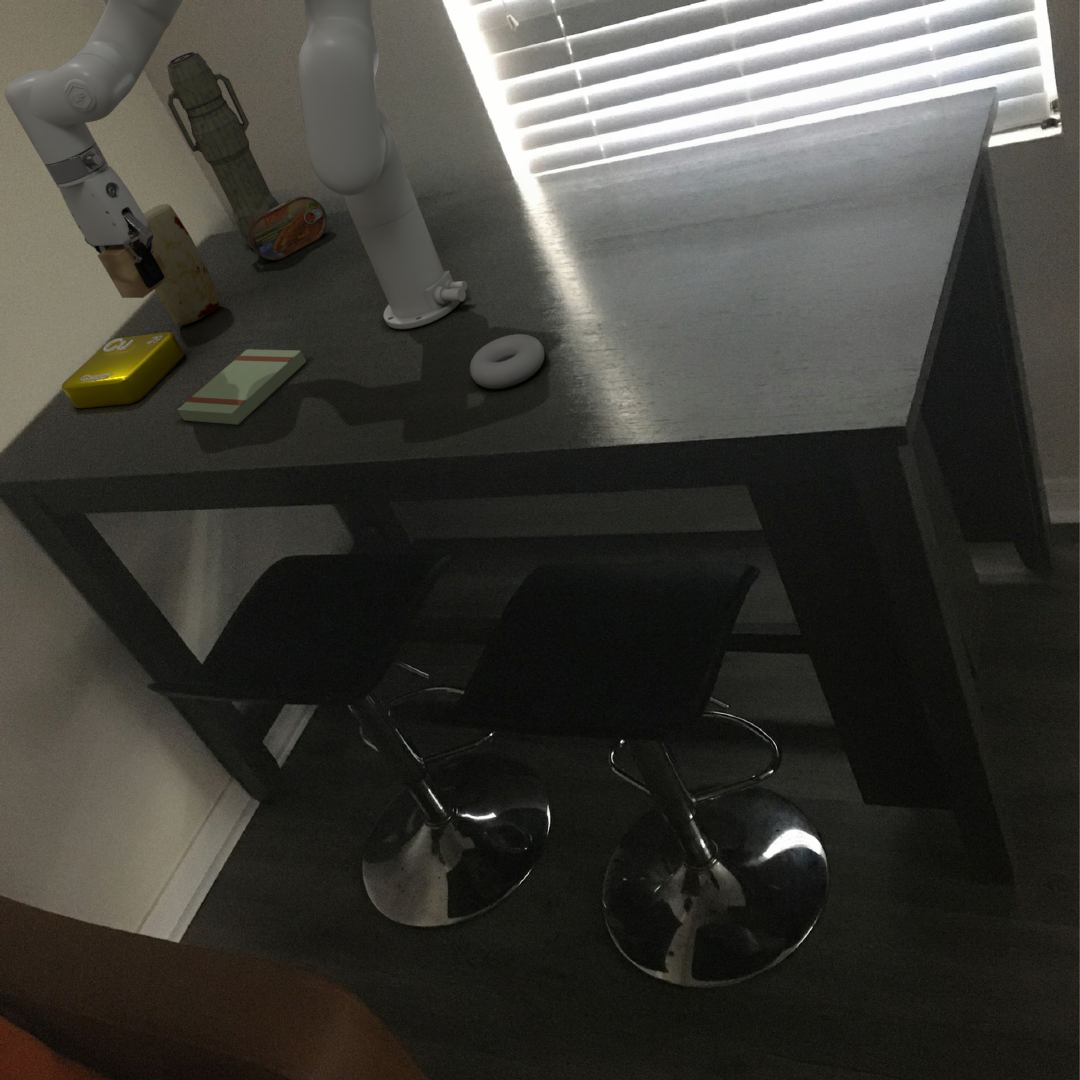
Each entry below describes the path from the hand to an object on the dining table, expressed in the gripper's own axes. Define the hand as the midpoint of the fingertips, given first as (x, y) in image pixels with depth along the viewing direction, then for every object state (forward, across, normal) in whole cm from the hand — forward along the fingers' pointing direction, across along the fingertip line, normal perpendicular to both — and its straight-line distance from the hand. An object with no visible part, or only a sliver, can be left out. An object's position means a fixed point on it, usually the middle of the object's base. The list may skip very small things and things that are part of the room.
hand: (143, 282), depth 159 cm
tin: (+17, +15, -42) cm, 48 cm away
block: (+1, 0, 0) cm, 1 cm away
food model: (+17, +18, -18) cm, 31 cm away
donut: (+17, -58, -5) cm, 61 cm away
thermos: (+17, +27, -47) cm, 57 cm away
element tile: (+17, +15, +2) cm, 23 cm away
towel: (+17, -14, +3) cm, 22 cm away
